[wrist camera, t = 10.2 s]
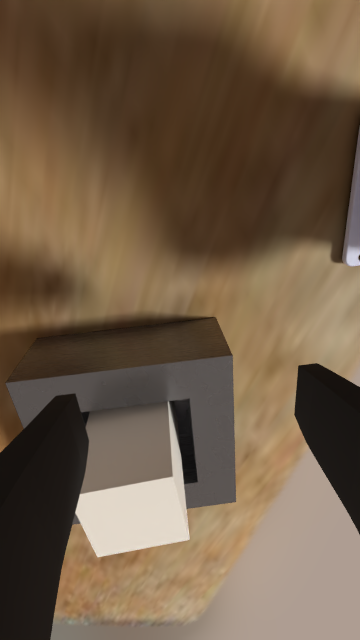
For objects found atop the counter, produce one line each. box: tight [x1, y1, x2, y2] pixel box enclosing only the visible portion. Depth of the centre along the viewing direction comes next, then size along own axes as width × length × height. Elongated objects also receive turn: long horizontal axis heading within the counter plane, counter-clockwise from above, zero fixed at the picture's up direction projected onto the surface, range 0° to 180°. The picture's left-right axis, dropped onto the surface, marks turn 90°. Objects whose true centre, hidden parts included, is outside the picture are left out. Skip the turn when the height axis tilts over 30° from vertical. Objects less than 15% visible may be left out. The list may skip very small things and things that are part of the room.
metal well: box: [6, 318, 236, 524], centre depth 20 cm, size 11×11×4 cm
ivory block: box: [75, 401, 190, 557], centre depth 17 cm, size 4×4×8 cm
